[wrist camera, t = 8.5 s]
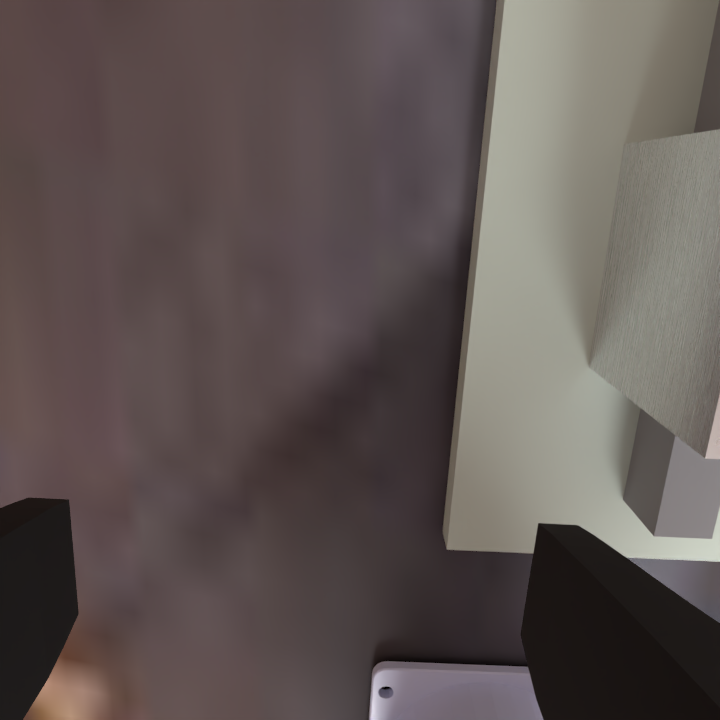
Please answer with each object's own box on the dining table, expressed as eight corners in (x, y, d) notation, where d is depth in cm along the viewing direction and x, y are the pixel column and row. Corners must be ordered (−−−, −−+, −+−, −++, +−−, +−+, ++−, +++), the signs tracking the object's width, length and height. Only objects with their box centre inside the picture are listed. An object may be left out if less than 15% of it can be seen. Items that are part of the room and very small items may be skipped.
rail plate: (802, 548, 20) (877, 608, 17) (442, 531, 20) (457, 590, 17) (1015, -181, 14) (1179, -272, 12) (518, -213, 14) (559, -315, 11)
